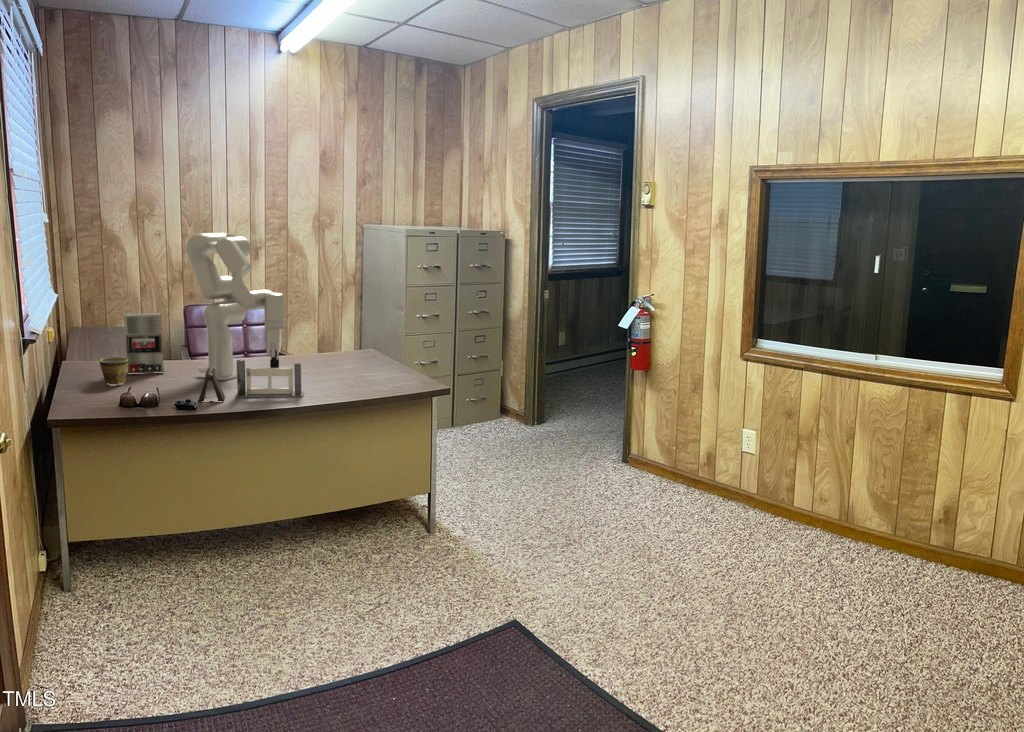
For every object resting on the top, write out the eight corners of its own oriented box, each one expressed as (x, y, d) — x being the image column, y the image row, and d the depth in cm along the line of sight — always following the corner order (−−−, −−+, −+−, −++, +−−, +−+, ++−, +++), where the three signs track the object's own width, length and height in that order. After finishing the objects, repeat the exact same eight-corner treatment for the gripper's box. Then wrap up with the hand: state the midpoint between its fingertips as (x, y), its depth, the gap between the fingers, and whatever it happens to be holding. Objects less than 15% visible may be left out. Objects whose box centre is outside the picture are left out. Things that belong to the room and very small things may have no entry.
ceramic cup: (135, 384, 305) (133, 359, 303) (111, 389, 297) (110, 363, 295) (114, 379, 311) (112, 355, 309) (90, 383, 303) (88, 359, 301)
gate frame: (235, 398, 292) (234, 362, 289) (237, 394, 298) (236, 358, 295) (303, 397, 298) (302, 362, 295) (303, 393, 303) (303, 359, 300)
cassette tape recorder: (127, 375, 317) (123, 316, 312) (128, 372, 323) (124, 313, 317) (164, 374, 323) (161, 315, 318) (164, 370, 328) (161, 313, 323)
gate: (246, 393, 295) (246, 368, 293) (247, 392, 297) (246, 367, 294) (292, 393, 299) (292, 368, 296) (292, 392, 300) (292, 367, 298)
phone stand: (225, 398, 292) (224, 367, 289) (223, 402, 286) (222, 371, 284) (199, 398, 290) (198, 367, 287) (197, 402, 284) (196, 371, 281)
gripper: (266, 320, 310) (266, 364, 314) (262, 327, 296) (262, 373, 300) (286, 320, 311) (285, 364, 316) (282, 328, 297) (282, 373, 301)
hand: (274, 368), depth 308 cm, fingers closed
